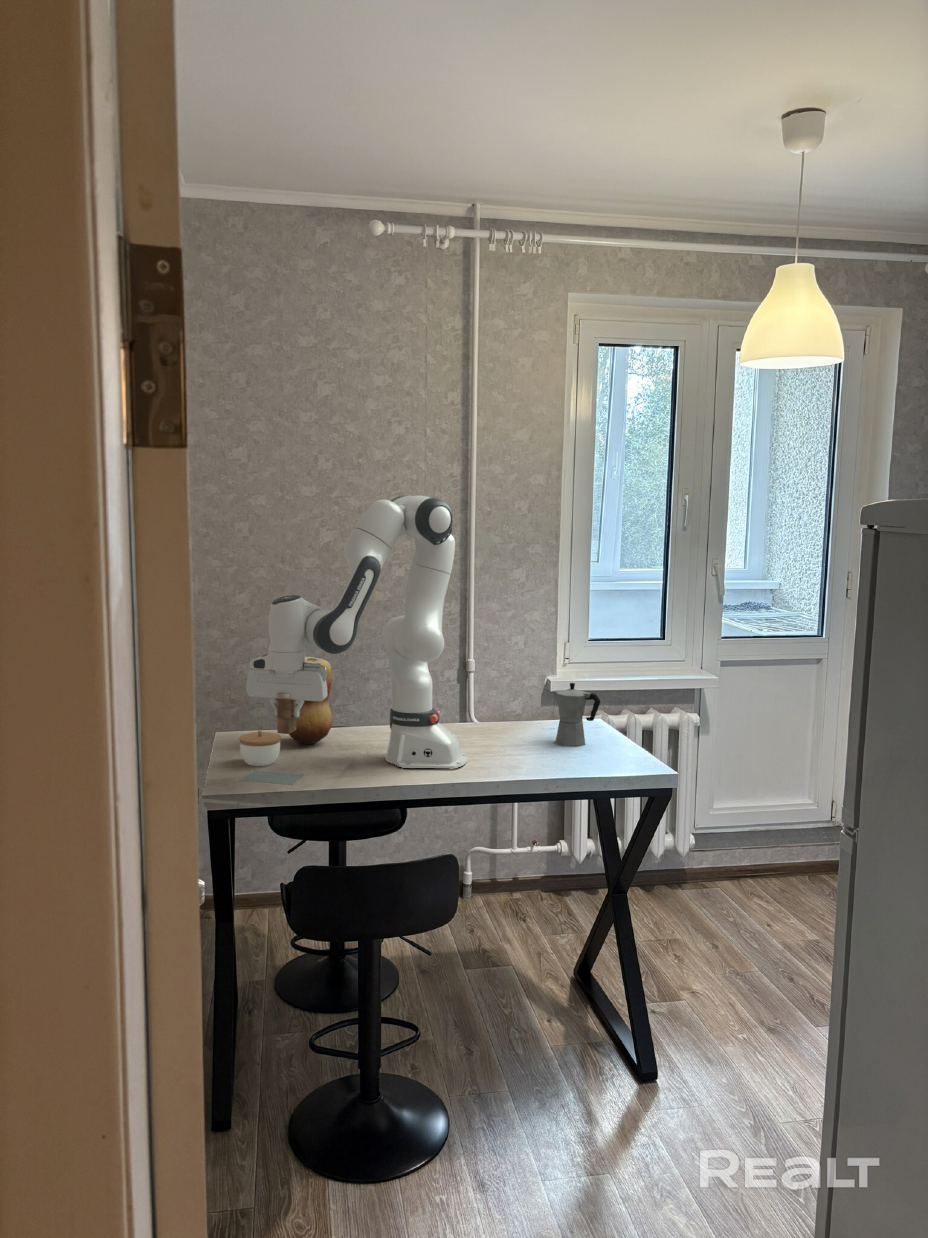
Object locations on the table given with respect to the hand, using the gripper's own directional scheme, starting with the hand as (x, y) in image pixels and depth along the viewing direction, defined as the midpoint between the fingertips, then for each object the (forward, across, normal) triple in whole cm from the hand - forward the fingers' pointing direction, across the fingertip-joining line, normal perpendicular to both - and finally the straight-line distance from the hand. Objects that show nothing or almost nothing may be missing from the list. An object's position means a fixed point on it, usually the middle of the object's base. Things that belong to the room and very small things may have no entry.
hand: (287, 716), depth 231 cm
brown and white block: (+4, 0, 0) cm, 4 cm away
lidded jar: (+17, +12, -12) cm, 24 cm away
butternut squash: (+17, +8, -36) cm, 41 cm away
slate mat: (+17, +4, 0) cm, 17 cm away
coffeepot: (+16, -67, -56) cm, 89 cm away
